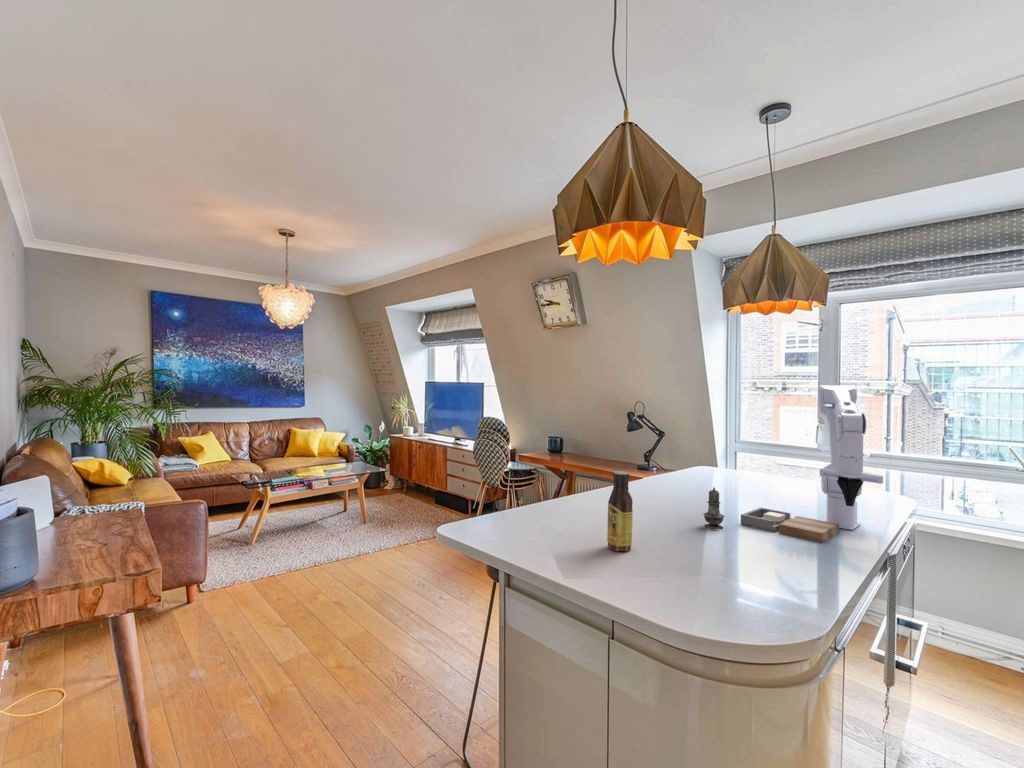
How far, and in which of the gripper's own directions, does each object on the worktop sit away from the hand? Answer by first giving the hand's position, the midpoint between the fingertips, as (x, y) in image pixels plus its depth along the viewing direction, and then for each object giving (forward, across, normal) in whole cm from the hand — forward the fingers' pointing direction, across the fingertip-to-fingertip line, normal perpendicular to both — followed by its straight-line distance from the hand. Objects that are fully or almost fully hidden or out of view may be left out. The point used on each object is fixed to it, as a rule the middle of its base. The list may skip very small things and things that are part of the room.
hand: (849, 505), depth 137 cm
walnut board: (+9, -10, -2) cm, 14 cm away
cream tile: (+8, -19, -2) cm, 21 cm away
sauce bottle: (+10, -36, -56) cm, 67 cm away
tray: (+9, -21, -2) cm, 23 cm away
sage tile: (+9, -20, -2) cm, 22 cm away
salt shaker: (+10, -30, -18) cm, 36 cm away
